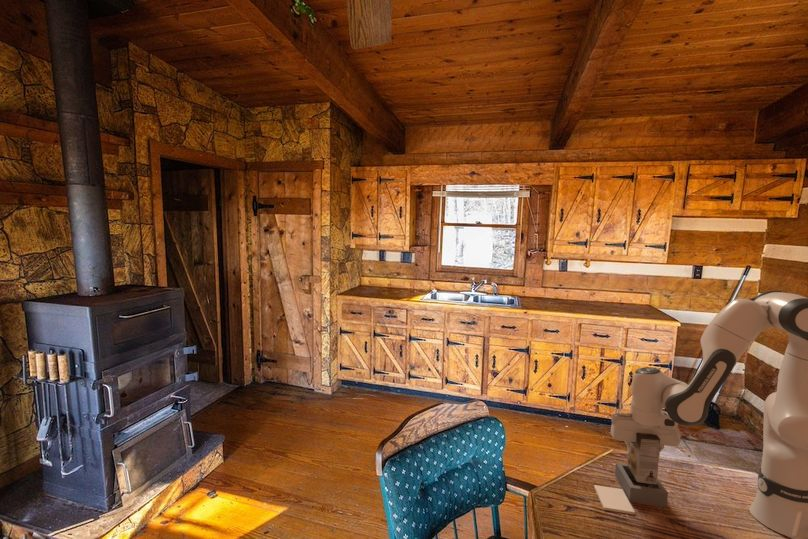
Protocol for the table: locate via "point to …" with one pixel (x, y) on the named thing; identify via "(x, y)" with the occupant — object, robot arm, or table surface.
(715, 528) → the table surface
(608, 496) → the mat
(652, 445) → the coffee box
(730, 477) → the table surface
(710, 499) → the table surface
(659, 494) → the rectangular frame
